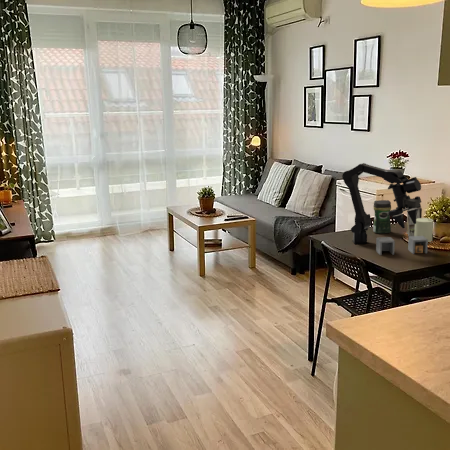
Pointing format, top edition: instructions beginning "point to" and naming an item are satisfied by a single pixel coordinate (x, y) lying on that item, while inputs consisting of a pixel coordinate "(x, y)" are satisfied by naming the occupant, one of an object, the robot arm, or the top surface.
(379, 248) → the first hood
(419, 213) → the coffee box
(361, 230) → the robot arm
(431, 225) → the can
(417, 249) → the letter cube
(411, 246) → the grey arch block
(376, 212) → the coffee jar
